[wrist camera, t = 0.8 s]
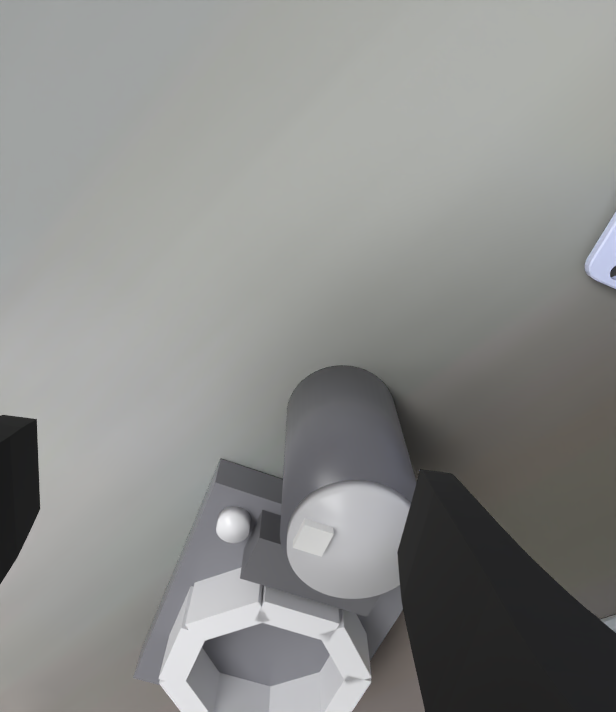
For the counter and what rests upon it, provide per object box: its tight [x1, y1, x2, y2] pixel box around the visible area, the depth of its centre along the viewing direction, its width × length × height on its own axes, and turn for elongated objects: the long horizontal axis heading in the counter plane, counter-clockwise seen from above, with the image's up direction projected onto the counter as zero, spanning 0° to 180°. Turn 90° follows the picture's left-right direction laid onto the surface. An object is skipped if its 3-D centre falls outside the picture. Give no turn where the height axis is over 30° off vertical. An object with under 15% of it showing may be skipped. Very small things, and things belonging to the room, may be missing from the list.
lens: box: [280, 366, 417, 599], centre depth 19 cm, size 4×4×7 cm
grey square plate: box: [133, 459, 403, 712], centre depth 24 cm, size 9×11×4 cm
